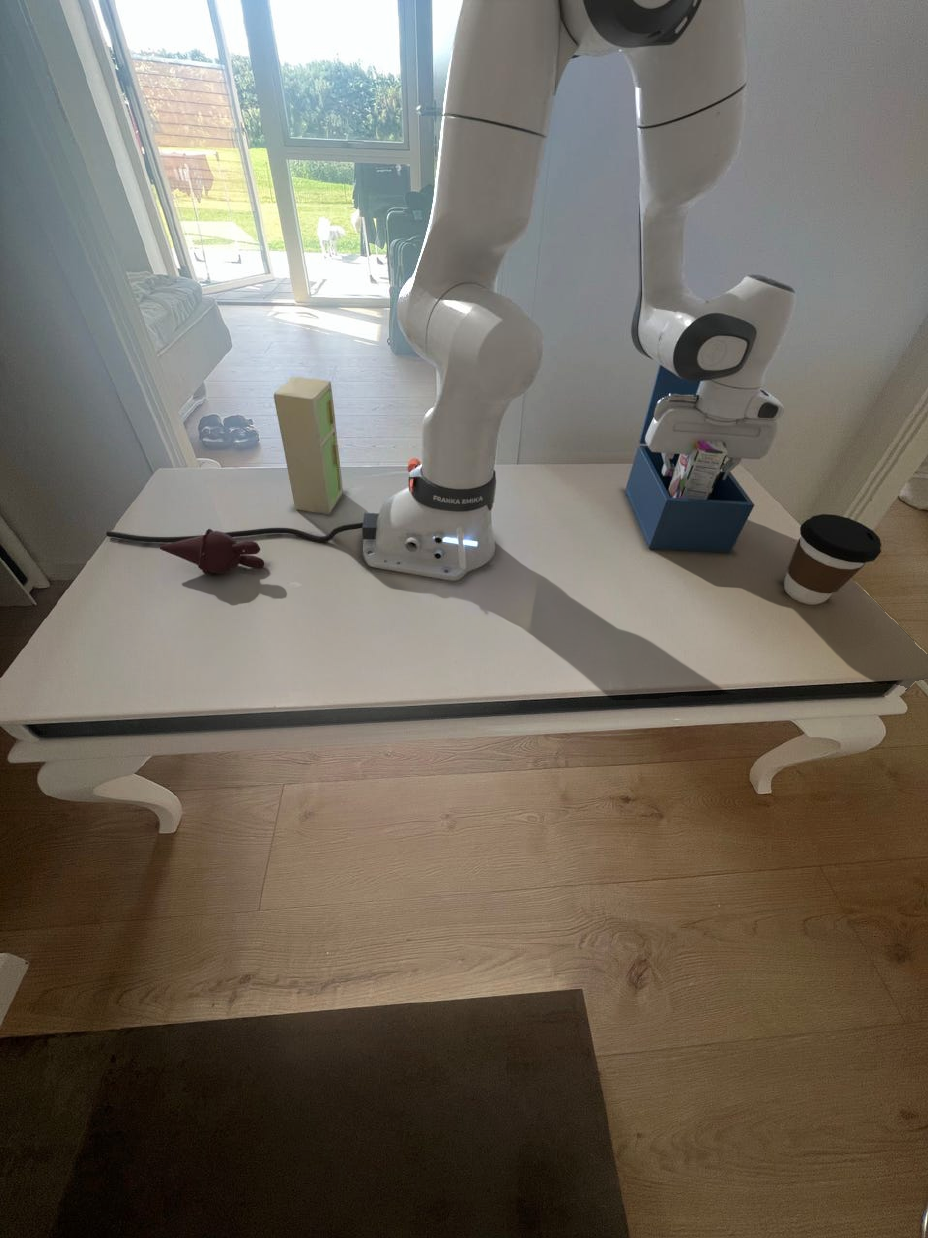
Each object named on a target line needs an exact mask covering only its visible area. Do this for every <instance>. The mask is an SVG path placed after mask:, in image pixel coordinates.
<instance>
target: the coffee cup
mask: <svg viewBox="0 0 928 1238" xmlns="http://www.w3.org/2000/svg"><path fill="white" fill-rule="evenodd" d="M799 534H800V538H799V539H798V540H797V543H796V546H795V548H794V550H793V553H792V556H791V559H790V561H789V565H788V566H787V572H786V575H785V576H784V580H783V585H784V586H783V587H784V588H783V589H784V591H785V592H786V594H787V595H788V596H789V597H790V598H792V599H793V600H795V601H796V602H799V603H802V604H805V605H811V606H813V605H814V606H816V605H819V604H822V603H824V602H826V601H827V600H828V599H829V598H830V597H831V596H832V595H834V593H837V592H838V591H840V589H842V588H843V586H844V585H846V584H847V582H849V581H850V580H851V579H852V578H853V577H854V576H855V575H856V574H857V573H858V572H859V571H860V570H862V568H864V566H865V565H866V563H869V562H875V560H876V559H877V558H878V557H879V556H880V554H881V553H882V548H881V547H882V542H881V539H880V536H878V535H877V534H876V533H875V532H874V530H873V529H871V528H869V527H868V526H866V525H865V524H863V523H861V522H858V521H857V520H854V519H852V518H849V517H845V516H841V515H838V514H827V513H822V514H817V515H813V516H811V517H810V518H808V519H806V520H805V521H804V522H803V523H802V524H801V525H800V527H799Z"/></svg>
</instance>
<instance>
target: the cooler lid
mask: <svg viewBox="0 0 928 1238" xmlns="http://www.w3.org/2000/svg"><path fill="white" fill-rule="evenodd" d="M699 384H700V381H698V382H691V381H687V380H684V379H681V378H679V377H678V376H676V375H675V374H673V373H672V372H671V371H669V370H667V369H666V368H664V367H663V366H662V365H660V364H659V363H658V368H657V372H656V375H655V379H654V383H653V386H652V390H651V395H650V398H649V402H648V405H647V410H646V414H645V417H644V420H643V421H644V422H643V425H642V428H641V433H640V436H639V440H638V443H639V444H640V445H641V444H642V445H647V444H646V442H645V437H646V434H647V431H648V429H649V426H650V424H651V422H652V420H653V418H654V412H655V408H656V405H657V403H658V401H659V400H660V399H662V398H663V397H665V396H668V395H669V394H672V393H676V394H679V395H686V394H689V395H696V392H697V390H698V387H699ZM665 400H668V399H665Z"/></svg>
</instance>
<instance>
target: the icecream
mask: <svg viewBox="0 0 928 1238" xmlns="http://www.w3.org/2000/svg"><path fill="white" fill-rule="evenodd" d="M202 535H203V536H199V537H194V538H190V539H186V540H182V541H178V542H173V543H164V544H162V545H159V549H160V550H161V551H163V552H166V553H167V554H170V555H173V556H175V557H178V558H180V559H182V560H185V561H188V562H189V563H191V564H194V565H197V567H198V569H199V570H201V571H202V573H203V575H208V576H209V575H211V574H224V573H228V572H230V571H231V570H232V569H236V568H237V567H238V566H239V565H241V566H244V567H248V568H252V569H261V568H263V567H264V566H265V561H264V560H263V559H262V558H261V557H259V556H256V555H257V554H259V553H260V551H261V547H260V545H259V544H258V543H257V542H256V541H254V540H247V539H246V540H242V541H239V542H237V541H236V539H234V537H231V536H229V535H228V534H226V532H223V531H219V530H213V529H211V528H208V529H206V531H205V534H202Z"/></svg>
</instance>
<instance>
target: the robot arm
mask: <svg viewBox="0 0 928 1238" xmlns="http://www.w3.org/2000/svg"><path fill="white" fill-rule="evenodd" d="M453 39H454V40H453V43H452V48H451V54H450V59H449V65H448V71H447V78H446V86H445V92H444V99H443V108H442V109H443V110H442V115H443V116H442V119H441V128H440V136H439V137H440V139H439V148H438V157H437V166H436V175H435V176H436V177H435V183H434V192H433V193H434V195H433V200H432V201H433V202H432V207H431V214H430V218H429V222H428V226H427V230H426V234H425V238H424V241H423V244H422V248H421V251H420V254H419V257H418V260H417V263H416V267H415V269H414V272H413V274H412V276H411V277H410V278H409V279H408V280H407V281H406V283H405V284H404V285H403V287H402V289H401V290H400V293H399V296H398V299H397V302H396V320H397V323H398V326H399V327H398V328H399V329H400V331H401V333H402V335H403V337H404V338H405V340H406V341H407V343H408V345H409V346H410V347H411V349H412V350H413V351H414V352H415V354H416V355H417V356H418V357H420V358H421V359H423V360H425V361H426V362H427V363H428V364H430V365H431V366H433V367H434V368H435V369H436V371H437V373H438V378H439V379H438V380H439V384H438V385H439V386H438V391H437V395H436V399H435V403H434V406H433V407H431V408H430V409H429V410H428V411H427V412H426V413H425V415H424V416H423V418H422V422H421V461H420V460H419V459H418V458H415V457H414V458H410V460H408V463H407V472H408V486H407V487H406V488H403V489H402V490H400V491H398V492H397V493H395V494H393V495H391V496H390V497H388V498H387V499H386V500H385V501H383V503H382V505H381V508H380V509H379V511H378V513H377V512H376V513H375V512H364V515H363V520H362V522H358V523H351V524H345V525H341V526H338V527H335V528H334V529H332V530H331V531H330V532H329V533H328V534H327V535H322V536H321V535H320V536H319V535H313V534H310V533H308V532H305V531H302V530H299V529H296V528H291V527H266V528H265V527H264V528H255V529H247V530H235V531H227V532H226V531H225V533H226V534H228V535H229V536H231V537H232V538H238V537H249V536H257V535H268V534H287V535H288V534H289V535H294V536H298V537H300V538H304V539H306V540H308V541H309V540H310V541H313V542H317V543H325V542H329V541H331V540H333V539H334V537H336V535H338V534H340V533H342V532H347V531H353V530H360V529H361V531H362V539H363V541H362V556H363V559H364V561H365V562H366V564H367V565H368V566H369V567H371V568H374V569H375V568H376V569H380V570H386V571H392V572H399V573H404V574H410V575H416V576H422V577H427V578H433V579H439V580H445V581H451V582H456V581H459V580H460V579H462V578H463V577H465V575H466V574H468V573H469V572H472V571H473V570H476V569H478V568H479V569H480V568H481V567H483V566H485V565H486V564H487V563H488V562H490V561H491V560H492V559H493V557H494V555H495V553H496V543H495V539H494V534H493V524H492V510H493V506H494V503H495V499H496V498H495V497H496V490H497V475H496V470H495V464H496V455H497V446H498V440H499V434H500V429H501V425H502V422H503V419H504V416H505V413H506V411H507V410H508V408H509V405H510V404H511V402H512V401H513V400H514V399H517V398H519V397H520V396H521V395H523V394H524V393H525V392H527V390H529V388H530V387H531V386H532V385H533V383H534V382H535V380H536V379H537V377H538V375H539V373H540V371H541V368H542V365H543V362H544V356H545V341H544V336H543V333H542V331H541V328H540V327H539V325H538V324H537V323H536V321H534V319H533V318H532V317H531V316H530V315H529V314H528V313H527V311H525V310H524V309H523V308H522V307H521V306H520V305H519V304H518V303H517V302H516V301H514V300H513V299H511V298H509V297H507V296H504V295H502V294H500V293H497V292H495V291H494V290H495V289H494V288H495V284H496V280H497V277H498V274H499V272H500V269H501V268H502V265H503V262H504V261H505V258H506V256H507V255H508V253H509V252H510V250H511V249H512V247H514V246H515V245H516V244H517V243H518V242H520V240H522V239H523V237H524V236H525V235H526V233H527V231H528V230H529V228H530V225H531V222H532V217H533V212H534V207H535V201H536V197H537V192H538V191H537V190H538V187H539V181H540V176H541V170H542V165H543V160H544V156H545V150H546V145H547V141H548V140H547V138H548V136H549V131H550V124H551V118H552V111H553V104H554V99H555V96H556V94H557V90H558V87H559V85H560V82H561V79H562V76H563V73H564V72H565V69H566V68H567V66H568V64H569V62H570V61H571V60H572V59H576V58H578V57H585V56H586V57H589V58H599V57H604V56H609V55H612V54H615V53H617V52H620V53H621V54H622V56H623V57H624V59H625V61H626V63H627V65H628V67H629V70H630V73H631V76H632V83H633V86H634V89H635V90H634V95H635V97H634V100H635V116H636V133H637V147H638V148H637V149H638V162H639V163H638V165H639V189H638V202H637V208H638V209H637V247H638V249H637V251H638V254H637V255H638V291H637V297H636V298H637V299H636V303H635V307H634V311H633V315H632V320H631V327H630V335H631V340H632V343H633V345H634V347H635V349H636V350H637V351H638V352H639V353H640V354H641V355H643V356H645V357H646V358H649V359H651V360H653V361H655V362H656V363H657V364H658V365H659V364H660V365H662V366H663V367H664V368H666V369H667V370H669V371H671V372H672V373H673V374H675V375H676V376H678V377H679V378H681V379H684V380H687V381H691V382H698V381H700V384H699V387H698V390H697V392H696V395H689V394H686V395H679V394H676V393H672V394H669V395H668V396H665V397H663V398H662V399H660V400H659V401H658V403H657V405H656V408H655V412H654V418H653V420H652V422H651V424H650V426H649V429H648V431H647V434H646V437H645V442H646V444H645V445H646V446H648V448H649V449H650V450H651V451H652V452H659V453H662V457H663V461H664V466H663V468H662V474H663V476H673V472H674V471H675V467H674V465H673V463H670V461H669V458H670V459H672V458H673V456H674V454H688V455H691V453H692V451H693V448H694V446H695V443H696V441H718V442H724V443H725V446H726V449H727V452H728V454H727V456H726V458H728V459H727V461H725V462H724V465H723V466H722V468H721V470H720V473H719V475H718V478H717V480H725V479H726V477H727V474H728V472H732V470H734V469H735V468H736V467H738V465H740V463H741V461H742V460H743V459H746V460H756V461H757V460H761V459H762V458H764V457H765V456H766V455H767V454H768V453H769V451H770V449H771V447H772V445H773V443H774V441H775V438H776V436H777V433H778V430H779V422H778V420H779V419H781V417H782V416H783V414H784V413H785V410H786V409H785V406H784V405H783V404H782V402H780V401H779V399H777V397H776V396H774V395H773V394H771V393H770V392H768V391H767V390H764V389H762V388H763V385H764V383H765V379H766V373H767V370H768V368H769V366H770V364H771V363H772V362H773V360H774V359H775V358H776V356H777V355H778V353H779V351H780V348H781V347H782V344H783V342H784V339H785V337H786V334H787V332H788V330H789V327H790V325H791V321H792V318H793V315H794V311H795V308H796V302H797V294H796V292H795V290H794V288H793V287H792V286H790V285H788V284H785V283H782V282H781V281H778V280H776V279H775V280H774V279H772V278H770V277H766V276H763V275H760V274H748V275H745V277H743V279H742V280H741V282H739V283H738V284H737V285H735V286H734V287H732V288H731V289H730V290H728V291H726V292H724V293H722V294H719V295H718V296H715V297H712V298H708V299H706V300H705V299H703V298H701V297H699V296H697V295H695V294H694V293H693V292H692V290H691V289H690V288H689V286H688V284H687V281H686V279H685V260H686V241H687V240H686V239H687V223H688V218H689V214H690V212H691V210H692V208H693V206H694V204H695V203H696V202H697V201H699V200H701V199H702V198H704V197H706V196H707V195H708V194H710V193H711V192H712V191H713V190H714V189H715V188H716V187H717V186H718V185H720V183H721V182H722V181H723V180H724V178H725V177H726V176H727V175H728V173H729V172H730V170H731V168H732V167H733V165H734V164H735V162H736V160H737V158H738V156H739V153H740V149H741V145H742V140H743V134H744V128H745V123H746V108H747V85H748V83H747V82H748V81H747V80H748V78H747V77H748V51H747V50H748V46H747V45H748V44H747V39H748V38H747V21H746V7H745V0H462V3H461V7H460V11H459V15H458V20H457V24H456V28H455V33H454V38H453ZM665 399H668V400H665ZM203 535H204V534H201V535H198V534H197V535H185V536H184V535H183V536H182V535H181V536H147V535H146V536H145V535H137V534H129V533H123V532H118V531H111V530H107V531H106V537H109V538H114V539H120V540H128V541H133V542H141V543H164V544H169V543H173V542H178V541H182V540H186V539H190V538H194V537H199V536H203Z"/></svg>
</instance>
